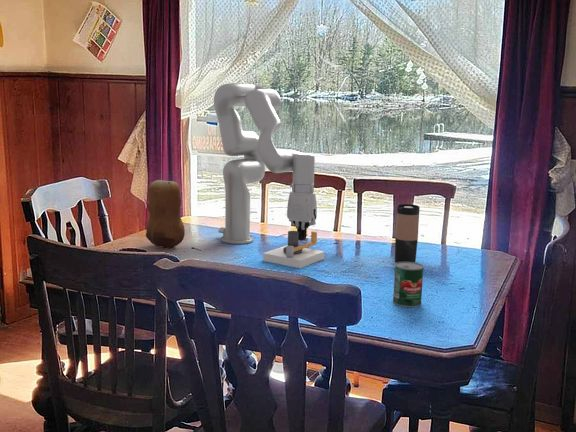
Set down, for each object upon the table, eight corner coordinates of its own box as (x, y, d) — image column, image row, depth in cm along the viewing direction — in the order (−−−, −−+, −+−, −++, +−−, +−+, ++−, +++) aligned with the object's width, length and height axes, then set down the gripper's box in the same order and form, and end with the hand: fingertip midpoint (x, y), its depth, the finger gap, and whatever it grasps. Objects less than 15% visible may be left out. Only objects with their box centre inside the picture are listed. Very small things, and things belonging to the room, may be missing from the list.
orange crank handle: (284, 256, 207) (285, 239, 206) (312, 246, 221) (312, 230, 220) (290, 257, 206) (291, 240, 205) (318, 247, 220) (318, 231, 219)
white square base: (262, 264, 213) (263, 253, 212) (287, 255, 225) (288, 244, 224) (300, 272, 204) (300, 260, 204) (323, 262, 217) (324, 251, 216)
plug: (279, 259, 214) (280, 232, 212) (290, 255, 219) (290, 229, 217) (295, 262, 210) (296, 235, 208) (305, 259, 215) (306, 231, 214)
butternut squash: (178, 241, 241) (178, 177, 237) (189, 249, 230) (188, 181, 225) (142, 244, 235) (141, 178, 231) (151, 253, 224) (149, 183, 219)
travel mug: (417, 260, 222) (421, 205, 218) (414, 266, 215) (418, 208, 211) (395, 258, 225) (399, 203, 221) (392, 263, 218) (395, 206, 214)
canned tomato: (404, 296, 183) (407, 260, 181) (426, 303, 177) (429, 266, 175) (386, 301, 178) (389, 264, 176) (409, 309, 172) (411, 270, 170)
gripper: (279, 187, 221) (278, 238, 224) (315, 192, 212) (313, 244, 216) (291, 185, 227) (290, 234, 230) (326, 189, 218) (325, 241, 222)
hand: (301, 239), depth 223 cm, fingers closed
